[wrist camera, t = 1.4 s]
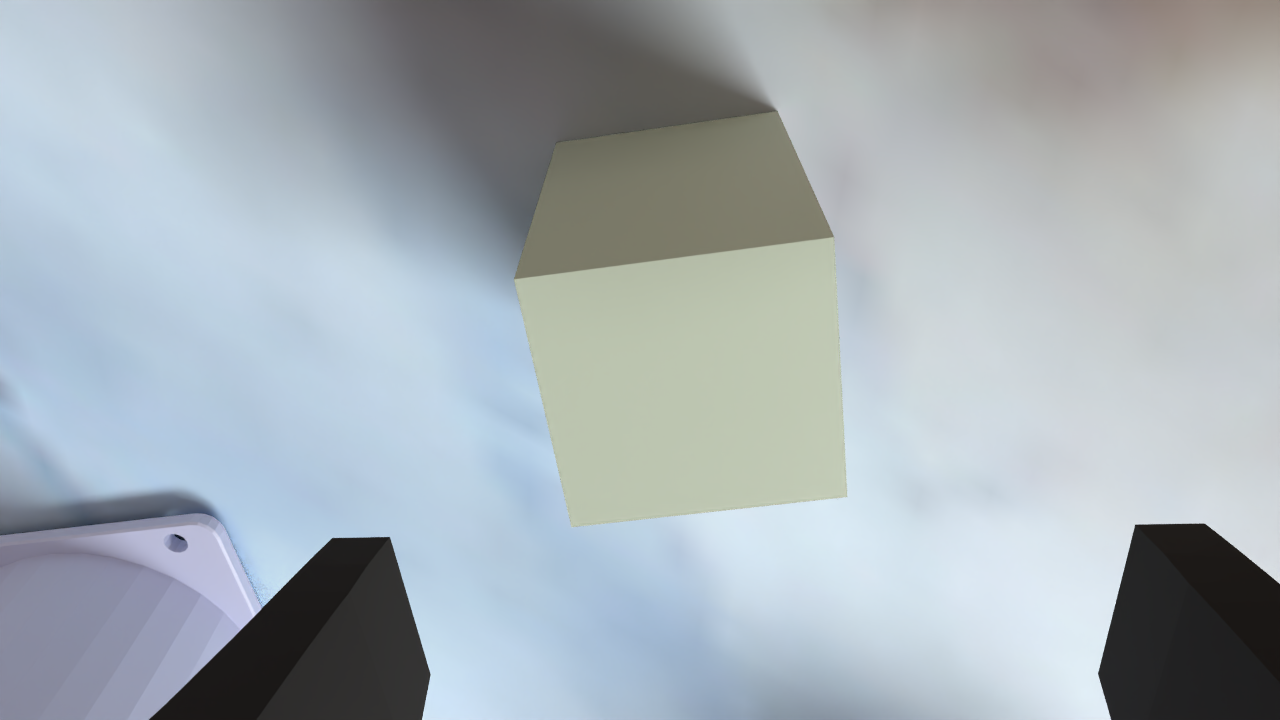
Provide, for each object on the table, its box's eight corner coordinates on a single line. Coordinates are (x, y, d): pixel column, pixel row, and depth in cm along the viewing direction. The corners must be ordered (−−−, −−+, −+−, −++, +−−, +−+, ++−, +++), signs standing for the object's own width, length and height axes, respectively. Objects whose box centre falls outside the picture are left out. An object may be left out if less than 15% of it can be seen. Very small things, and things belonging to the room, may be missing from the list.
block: (593, 335, 19) (571, 527, 14) (556, 142, 17) (514, 278, 12) (792, 310, 19) (847, 496, 13) (777, 110, 17) (834, 237, 12)
